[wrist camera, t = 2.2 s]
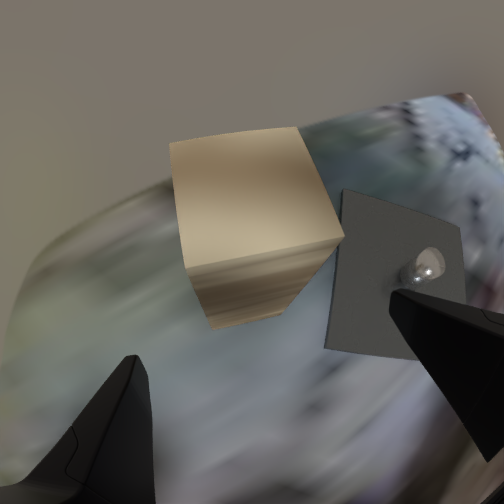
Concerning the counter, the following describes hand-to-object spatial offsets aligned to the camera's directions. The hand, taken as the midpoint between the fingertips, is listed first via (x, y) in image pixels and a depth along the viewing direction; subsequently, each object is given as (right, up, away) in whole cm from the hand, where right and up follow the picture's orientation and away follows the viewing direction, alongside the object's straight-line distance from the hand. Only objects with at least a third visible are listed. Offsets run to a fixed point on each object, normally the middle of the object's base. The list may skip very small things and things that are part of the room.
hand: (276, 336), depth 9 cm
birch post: (-2, 0, +12) cm, 12 cm away
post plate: (+13, 0, +13) cm, 19 cm away
